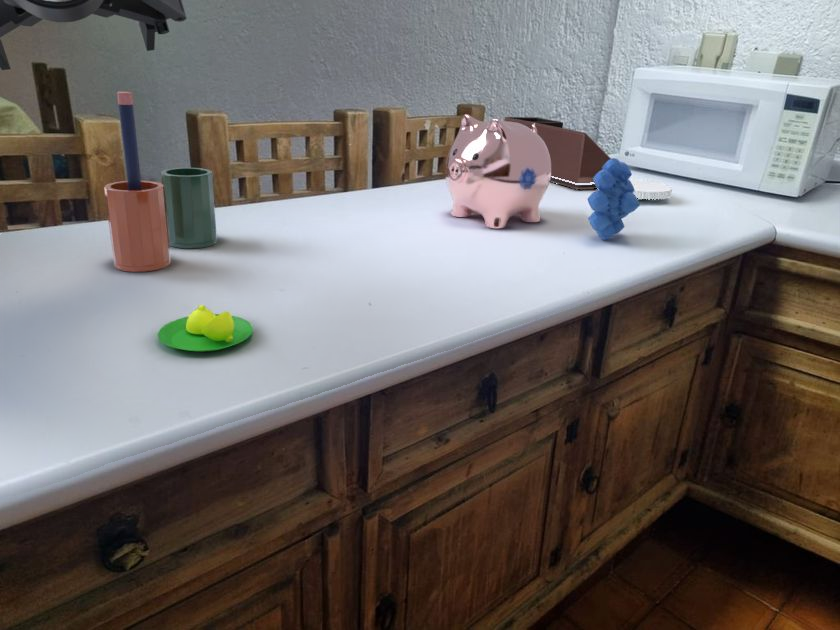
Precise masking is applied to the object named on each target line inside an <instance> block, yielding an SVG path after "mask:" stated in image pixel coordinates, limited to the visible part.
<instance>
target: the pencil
mask: <svg viewBox="0 0 840 630" xmlns="http://www.w3.org/2000/svg"><path fill="white" fill-rule="evenodd" d="M116 94H117V95H116V96H117V97H116V98H117V104H118V112H119V122H120V129H121V130H120V131H121V138H122V147H123V148H122V149H123V157H124V165H125V174H126V175H125V176H126V181H127V185H128V190H142V187H141V181H142V179H141V178H142V177H141V168H140V167H141V166H140V159H139V158H140V157H139V149H138V140H137V130H136V122H135V119H136V118H135V110H134V99H133V92H132V91H117V92H116Z"/></svg>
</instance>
